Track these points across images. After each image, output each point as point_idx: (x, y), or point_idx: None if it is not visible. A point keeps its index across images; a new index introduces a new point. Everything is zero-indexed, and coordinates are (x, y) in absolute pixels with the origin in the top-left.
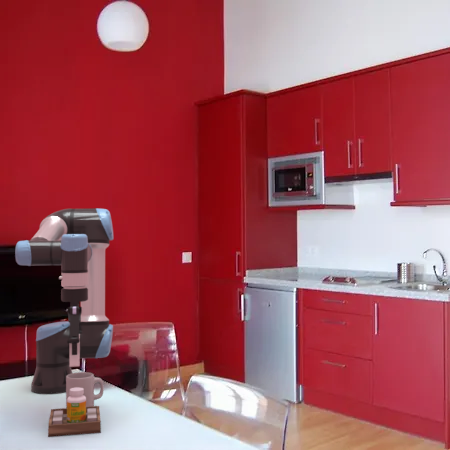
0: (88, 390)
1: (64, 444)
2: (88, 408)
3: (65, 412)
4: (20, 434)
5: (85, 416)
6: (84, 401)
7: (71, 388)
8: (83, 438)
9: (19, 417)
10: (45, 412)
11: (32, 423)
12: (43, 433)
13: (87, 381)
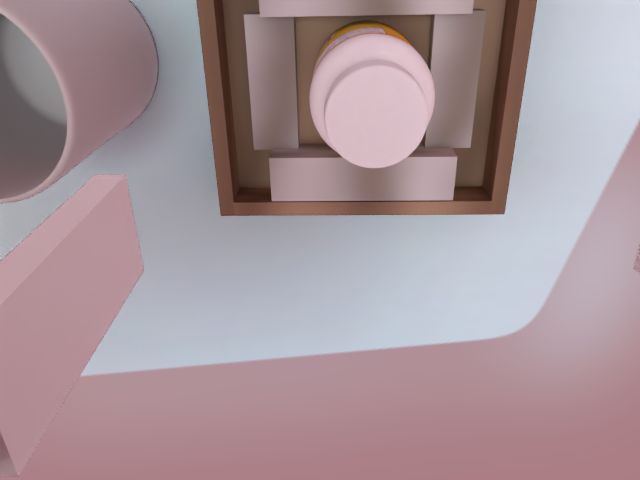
0: (79, 17)
1: (626, 119)
2: (259, 9)
3: (231, 139)
4: (414, 297)
5: (388, 26)
6: (410, 45)
7: (349, 156)
8: (580, 29)
9: (179, 319)
10: None
11: (275, 266)
12: None
13: (56, 33)
